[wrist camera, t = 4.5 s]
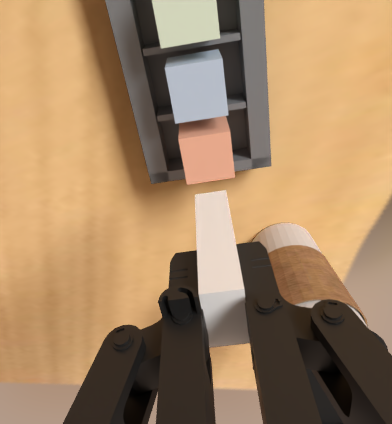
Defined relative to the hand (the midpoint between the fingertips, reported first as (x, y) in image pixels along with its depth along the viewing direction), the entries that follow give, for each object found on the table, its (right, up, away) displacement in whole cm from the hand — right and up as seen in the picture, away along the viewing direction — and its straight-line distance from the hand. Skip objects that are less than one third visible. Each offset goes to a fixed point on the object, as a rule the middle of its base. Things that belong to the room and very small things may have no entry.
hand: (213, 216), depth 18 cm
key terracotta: (0, +5, +8) cm, 9 cm away
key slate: (-1, +9, +5) cm, 10 cm away
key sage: (-1, +12, +3) cm, 13 cm away
